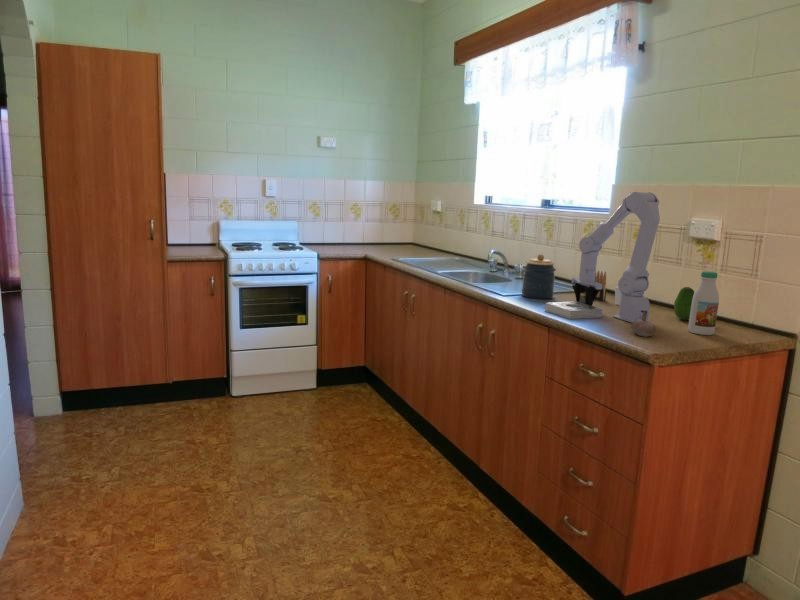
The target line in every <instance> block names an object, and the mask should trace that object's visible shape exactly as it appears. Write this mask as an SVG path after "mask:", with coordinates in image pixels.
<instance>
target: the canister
mask: <svg viewBox="0 0 800 600" xmlns="http://www.w3.org/2000/svg"><path fill="white" fill-rule="evenodd" d="M554 265H555V263H554V262H553V261H552V260H550V259H547V258H545V256H544V255H543V254H542V253H540V254H538V255H537V257H536V258H529V259H528V260H527V261H526V265H525V266H524V267H523V269H524V274H523V275H522V279H523V280H522V288H521V295H522V297H525V298H529V299H536V300H549V299H550V300H551V299H553V297H554V295H555V294H554V293H555V291H554V290H555V279H556V276H555V272H556V270H557V268H555V267H554Z"/></svg>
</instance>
